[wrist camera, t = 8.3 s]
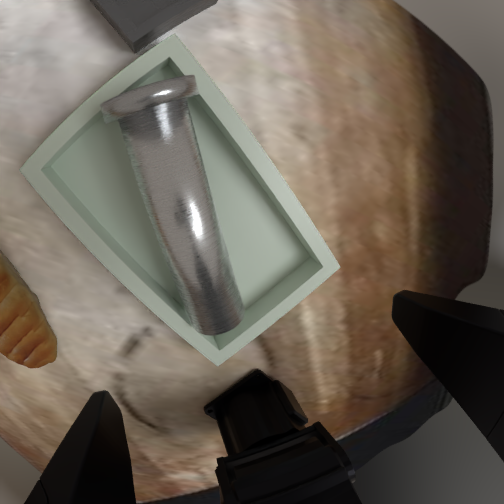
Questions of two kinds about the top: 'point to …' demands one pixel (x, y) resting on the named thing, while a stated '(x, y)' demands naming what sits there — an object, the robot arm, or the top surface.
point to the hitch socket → (148, 17)
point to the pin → (179, 198)
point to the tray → (224, 195)
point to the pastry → (23, 321)
